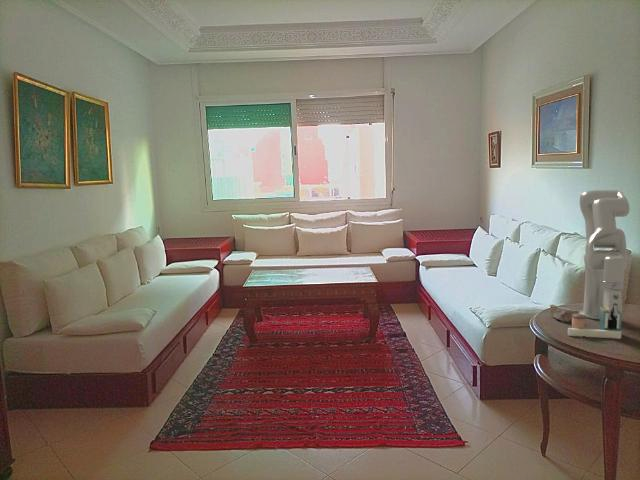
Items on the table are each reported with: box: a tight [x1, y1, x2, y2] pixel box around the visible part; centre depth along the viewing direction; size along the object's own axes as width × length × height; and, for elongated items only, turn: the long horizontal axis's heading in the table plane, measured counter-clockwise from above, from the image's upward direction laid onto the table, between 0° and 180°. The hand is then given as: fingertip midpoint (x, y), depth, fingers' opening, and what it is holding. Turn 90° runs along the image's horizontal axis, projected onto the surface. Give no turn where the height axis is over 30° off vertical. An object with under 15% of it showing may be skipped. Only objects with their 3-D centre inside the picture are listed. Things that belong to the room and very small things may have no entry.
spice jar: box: [571, 313, 586, 329], centre depth 213 cm, size 5×5×8 cm
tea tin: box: [598, 306, 623, 332], centre depth 209 cm, size 5×7×9 cm
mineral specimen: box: [549, 304, 579, 323], centre depth 230 cm, size 13×7×6 cm, turn 47°
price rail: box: [567, 327, 622, 340], centre depth 208 cm, size 1×20×3 cm, turn 74°
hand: (610, 325), depth 210 cm, fingers closed on tea tin, 5 cm apart
